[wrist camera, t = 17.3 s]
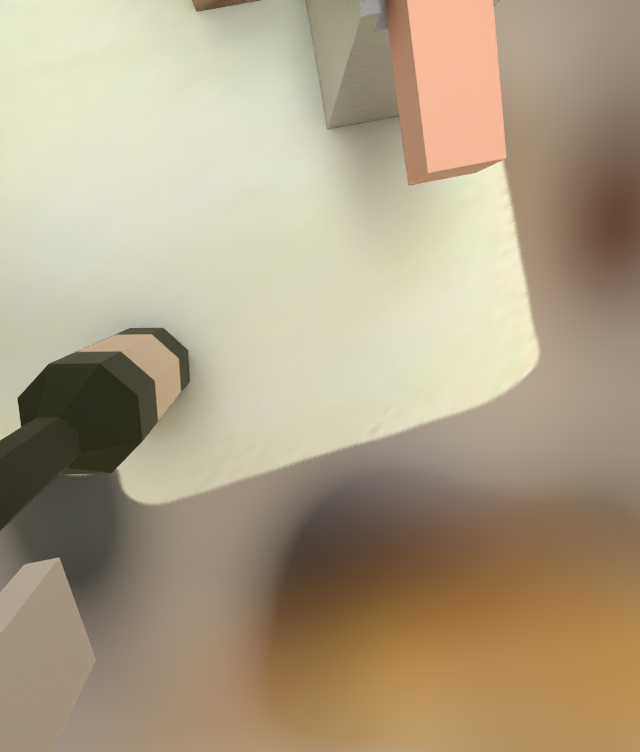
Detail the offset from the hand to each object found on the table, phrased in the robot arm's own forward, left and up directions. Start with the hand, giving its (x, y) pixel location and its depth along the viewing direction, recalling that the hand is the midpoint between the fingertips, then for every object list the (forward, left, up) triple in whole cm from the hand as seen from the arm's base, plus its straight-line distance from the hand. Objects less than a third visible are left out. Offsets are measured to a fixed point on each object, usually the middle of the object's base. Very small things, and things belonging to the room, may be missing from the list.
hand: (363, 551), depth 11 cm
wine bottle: (-16, -1, -39) cm, 42 cm away
